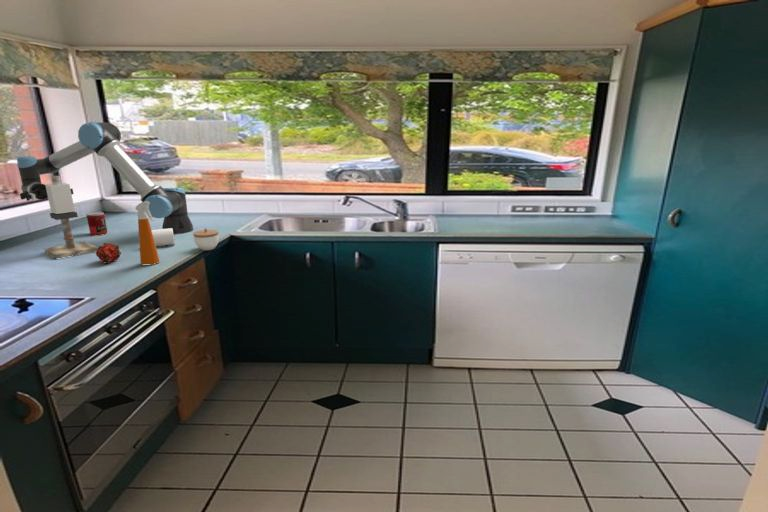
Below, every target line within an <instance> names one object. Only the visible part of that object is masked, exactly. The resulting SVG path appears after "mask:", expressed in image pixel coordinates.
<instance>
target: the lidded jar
mask: <svg viewBox="0 0 768 512" xmlns="http://www.w3.org/2000/svg"><path fill="white" fill-rule="evenodd" d="M193 238H194V243H195V245H196V246H197V247H198V248H199V249H200V250H201V249H202V250H201V251H211V250H214V249H216V247H217V245H218V243H219V238H220V237H219V230H217V229H207V228H204V229H201V230H198V231H197V230H196V231H194V233H193Z"/></svg>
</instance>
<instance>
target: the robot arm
mask: <svg viewBox="0 0 768 512" xmlns="http://www.w3.org/2000/svg"><path fill="white" fill-rule="evenodd" d="M77 134H78V135H77V138H78V141H76V142H75V143H72V144H71V145H68V146H66V147H64V148H62V149H60V150H58V151H56V152H53V153H52V154H50V155H48V156H45V157H44V158H39V159H37V158H36V156H33V155H32V156H31V155H30V156H29V155H28V156H26V155H25V156H18V157H16V162H17V167H18V171H19V176H20V180H21V186H20V189H21V191H22V192H21V193H19V196H20V197H19V198H20V200H22V201H23V200H25V199H26V201H27V202H28V201H30V200H31V201H34V202H35V201H37V200H41V201H43V200H46V199H48V195H47V191H46V186H45V185H46V184H45V183H42V180H41V175H42V176H43V175H48V174H54V173H57V172H59V171H60V170H61V169H62V168H64V167H67V166H68V165H71V164H72V163H75V162H77V161H78V160H81V159H83V158H85V157H88V156H90V155H91V154H94V153H95V154H96V155H97V156H99V157H104V158H105V159H106V161H108V162H109V163H110V164H111V166H112V167H113V168H114V169H115V170H116V171H117V172H118V173H119V174H120V175H121V176H122V177H123V178H124V180H126V182H128V184H129V185H130V187H132V188H133V189H134V190H135V191H136V192H137V193H138V194H139V195H140V201H141V203H142V202H144V201H148V202H149V203H150V204H149V211H150V213H151V215H152V217H153V219H162V218H163V220H162V227H161V229H169V228H172V229H173V235H174V234H184V233H189V232H191V231H193V230H194V224H192V221H191V219H190V216H189V214H188V207H187V206H188V205H187V197H186V195H187V194H186V191H185V189H184V187H183V188H182V187H162V186H161V185H157V184H155V183H154V181H152V180H151V178H150V177H149V176H148V175H147V174H146V173H145V172H144V170H142V169H141V167H140V166H139V165H137V163H136V162H135V161H134V160H133V159H132V158H131V156H129V154H128V153H127V152H126V151H125V150H124V149H123V148H122V147H121V146H120V144H121V142H120V141H121V140H122V139H121V138H122V135H121V134H122V133H121V131H120V129H119V128H118V127H117V126H116V125H115V124H113V123H111V122H107V121H106V122H103V121H102V122H95V121H92V122H91V121H90V122H86V123H83V124H82V125H80V127H79V129H78V132H77ZM70 190H71V194H72V195H74V189H73V188H70Z"/></svg>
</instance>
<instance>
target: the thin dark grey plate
mask: <svg viewBox="0 0 768 512" xmlns="http://www.w3.org/2000/svg"><path fill="white" fill-rule="evenodd" d="M49 215H50V216H49V217H50V218H51V219H54V220H55V221H59V220H60V221H61V219H67V218H69V219H74V218H78V217H79V216H78V212H76V211H75V212H68V213H64V214H55V213H53V212H49Z"/></svg>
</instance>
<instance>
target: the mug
mask: <svg viewBox="0 0 768 512" xmlns="http://www.w3.org/2000/svg"><path fill="white" fill-rule="evenodd" d="M151 231H152V235H153V238H154V242H155V246H159V247H166V246H165V245H168V246H174V245H175V244H176V243H175V236H174V234H173V229H172V228H169V229H162V228H158V229H151Z"/></svg>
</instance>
